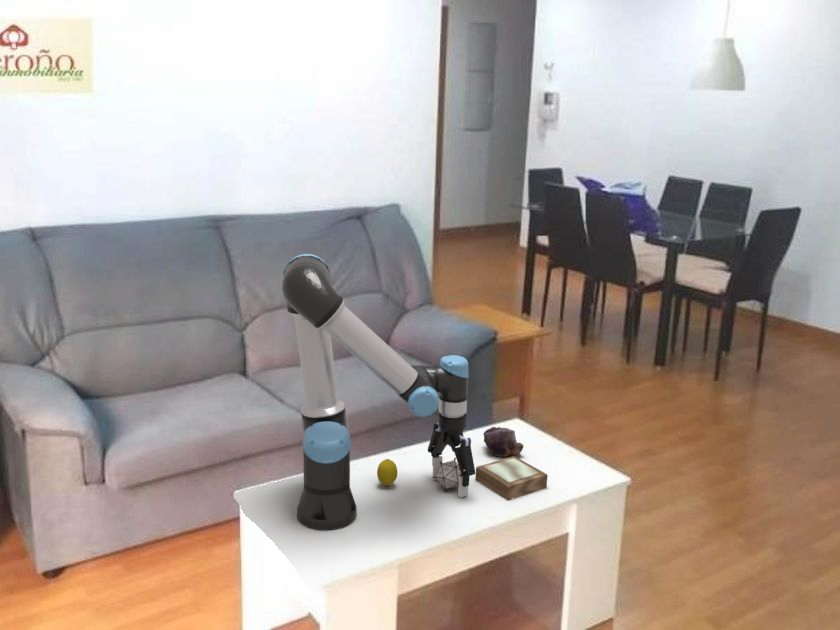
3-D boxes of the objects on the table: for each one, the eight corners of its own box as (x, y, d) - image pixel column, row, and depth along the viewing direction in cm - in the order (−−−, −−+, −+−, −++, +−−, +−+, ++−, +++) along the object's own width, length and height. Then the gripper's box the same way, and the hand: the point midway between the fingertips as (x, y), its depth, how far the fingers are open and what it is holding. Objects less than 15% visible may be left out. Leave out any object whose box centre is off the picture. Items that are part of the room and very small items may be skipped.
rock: (498, 448, 266) (475, 456, 260) (496, 421, 265) (474, 428, 259) (527, 454, 258) (504, 463, 251) (526, 427, 257) (503, 434, 250)
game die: (442, 501, 237) (421, 474, 235) (455, 480, 243) (435, 454, 241) (465, 496, 231) (444, 468, 229) (478, 474, 237) (457, 447, 235)
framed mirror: (507, 500, 231) (508, 485, 230) (475, 480, 242) (476, 466, 241) (546, 487, 239) (547, 473, 237) (513, 468, 250) (514, 455, 248)
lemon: (385, 492, 233) (385, 465, 231) (372, 484, 237) (373, 458, 235) (401, 486, 237) (401, 460, 235) (388, 479, 241) (389, 453, 239)
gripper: (491, 424, 224) (487, 501, 230) (438, 396, 242) (435, 467, 248) (468, 430, 220) (465, 508, 225) (416, 401, 238) (414, 473, 244)
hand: (449, 487), depth 237 cm, fingers open, 11 cm apart
